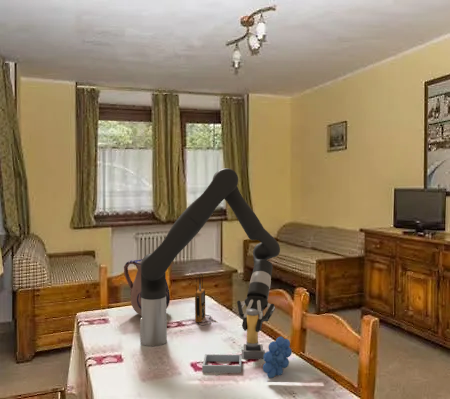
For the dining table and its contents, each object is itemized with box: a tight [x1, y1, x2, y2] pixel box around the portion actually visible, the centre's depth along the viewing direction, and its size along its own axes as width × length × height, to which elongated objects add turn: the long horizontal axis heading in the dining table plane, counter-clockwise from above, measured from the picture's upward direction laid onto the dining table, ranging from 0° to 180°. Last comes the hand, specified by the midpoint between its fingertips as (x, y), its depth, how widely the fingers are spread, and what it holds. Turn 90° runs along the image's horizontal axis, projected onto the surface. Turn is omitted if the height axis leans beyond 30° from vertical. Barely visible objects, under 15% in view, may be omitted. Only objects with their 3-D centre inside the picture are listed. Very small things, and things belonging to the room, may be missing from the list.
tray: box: [201, 353, 242, 374], centre depth 136 cm, size 12×9×3 cm
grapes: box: [262, 336, 293, 379], centre depth 131 cm, size 12×7×12 cm, turn 128°
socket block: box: [241, 343, 266, 360], centre depth 145 cm, size 8×8×3 cm
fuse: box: [245, 308, 259, 347], centre depth 145 cm, size 4×4×12 cm
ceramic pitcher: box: [123, 258, 171, 317], centre depth 194 cm, size 18×21×25 cm
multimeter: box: [194, 273, 218, 327], centre depth 185 cm, size 15×10×20 cm
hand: (251, 330), depth 143 cm, fingers closed on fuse, 3 cm apart
